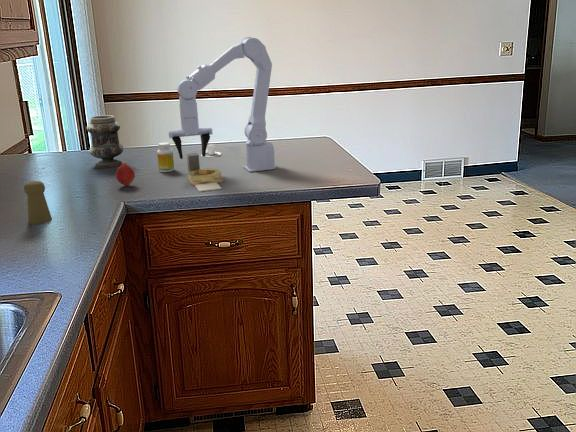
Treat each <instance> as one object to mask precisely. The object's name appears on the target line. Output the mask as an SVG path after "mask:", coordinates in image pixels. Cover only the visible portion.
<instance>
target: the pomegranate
mask: <svg viewBox="0 0 576 432" xmlns="http://www.w3.org/2000/svg"><path fill="white" fill-rule="evenodd" d="M133 169H134V168H132V167H131V166H130V165H128V164H127V162H126V161H124V162H122V164H121V165H119V167H118V168H117V169H116V172H115V178H116V180H117V182H118V183H119V184H121V185H123V186H125V187H129V186H130V184H131V183H132V182H133V181H134V180H135V178H136V175H135V174H136V173H135V171H134V170H133Z"/></svg>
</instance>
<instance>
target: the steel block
mask: <svg viewBox="0 0 576 432" xmlns="http://www.w3.org/2000/svg"><path fill="white" fill-rule="evenodd" d="M186 162H187V173H189V172H191V171H194V170H197V169H201V166H200V155H199V154H198V153H197V152H195V153H186Z"/></svg>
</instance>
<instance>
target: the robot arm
mask: <svg viewBox="0 0 576 432" xmlns="http://www.w3.org/2000/svg"><path fill="white" fill-rule="evenodd" d="M245 57H246V58H248V59H249V60H250V61H251V63H252V64H253V65H254V66H255V67H256V70H255V79H254V87H253V94H252V103H251V108H250V114H249V117H248V122H247V124H246V126H245V127H244V135H245V137H246V141H245V153H246V155H245V156H246V165H243V168H245V170H246V171H248V172H250V173H251V172H252V173H253V172H260V171H267V170H268V171H270V170H276V165H275V164H276V161H275V147H274V145H273V143H272V141H271V142H268V141H267V138H268V133H267V130H266V125H267V123H266V121H267V120H266V112H267V111H266V110H267V105H268V98H269V97H268V96H269V91H270V83H271V75H272V70H273V69H272V68H273V62H272V60H271V57H270V56H269V54H268V51H267V47H266V45H264V43H263V42H262V41H261V40H260V39H259V38H256V37H251V36H247V37H244V38H243V39H241V41H238V42H235V43H234V44H233V45H232V46H231V47H228V49H227V50H225V51H224V52H223V53H222V54H221V55H219V56H218V57H217V58H216V59H214V61H212V63H210V64H202V65H198V66H197V67H196V70H195V71H193V73H191V74H190V75H188V74H187V75H186V76H185V78H186V79H183V80H181V81H179V83H178V85H177V89H176V90H177V93H178V95H179V98H178V99H179V105H178V106H179V116H180V117H179V118H180V125H181V126H180V127H181V129H179V130H171V131H170V130H169V131H167V132H168V133H167V136H168V139H171V140H172V141H173V143H174V145H175V147H176V150H177V151H178V156H179V159H181V160H183V159H184V156H183V150H182V149H183V148H182V140H181V138H182V137H183V138H184V137H193V136H195V137H197V136H200V143H201V154H202V156H201V157H205V156H206V154H205V153H206V149H207V145H209V142H210V140H211V135H213V128H212V127H207V128H206V127H204V128H203V127H202V128H201V127H199V116H198V115H199V112H198V103H197V97H196V96H197V94H198V91H202V89H204V88H205V87H206V86H208V85H209V84H211V83H212V82H213V81H214V80H215V79H216V73H218V72H219V71H220V70H221V69H223V68H224V67H226V66H227V65H229V64H230V63H231V62H232V61H234V60H236V59H244V58H245Z"/></svg>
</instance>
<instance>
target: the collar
mask: <svg viewBox="0 0 576 432" xmlns="http://www.w3.org/2000/svg"><path fill="white" fill-rule="evenodd" d="M187 173H188V172H187ZM188 176H189V179H190V180H191V181H196V182H207V181H215V180H217V179H219V178H222V172H221V171H220V169H217V168H200V169H197V170H194V171H191V172H189V173H188ZM189 179H188V180H189Z"/></svg>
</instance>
